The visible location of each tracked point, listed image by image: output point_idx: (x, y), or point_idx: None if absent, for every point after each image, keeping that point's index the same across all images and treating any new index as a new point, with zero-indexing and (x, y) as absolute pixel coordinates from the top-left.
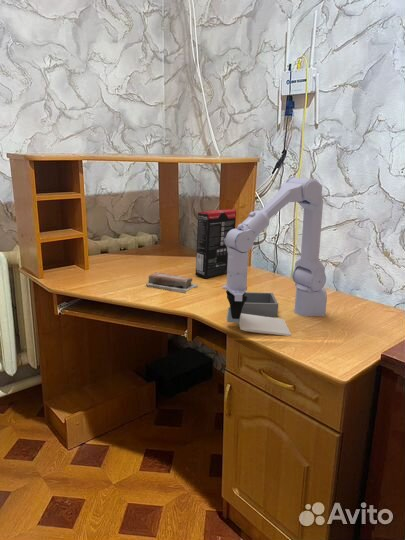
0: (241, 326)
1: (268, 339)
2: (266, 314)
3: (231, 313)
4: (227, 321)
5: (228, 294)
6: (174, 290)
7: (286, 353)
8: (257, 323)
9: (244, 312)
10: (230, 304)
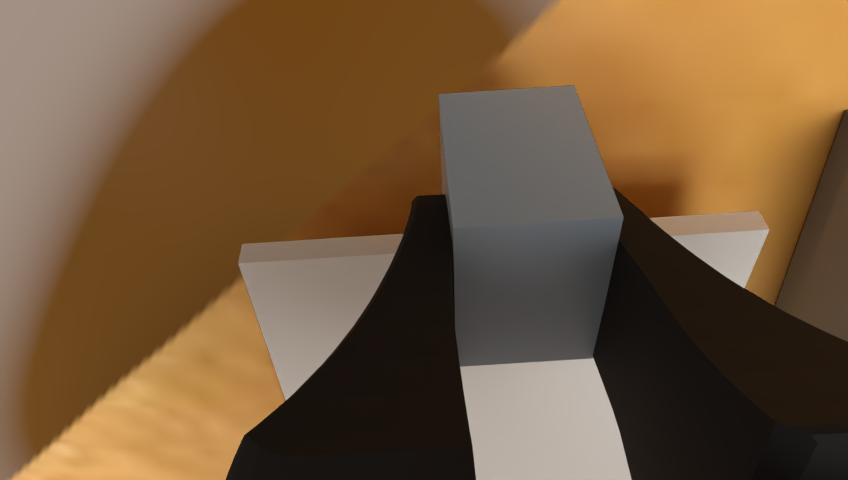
0: (283, 269)
1: (280, 394)
2: None
3: (403, 238)
4: (440, 101)
5: (742, 430)
6: None
7: (60, 472)
8: (465, 389)
9: (841, 280)
10: (319, 369)
